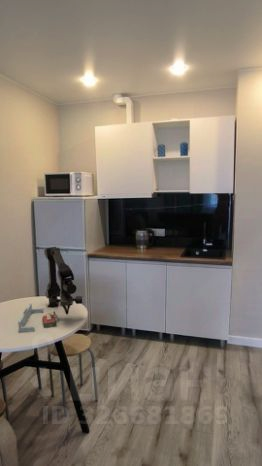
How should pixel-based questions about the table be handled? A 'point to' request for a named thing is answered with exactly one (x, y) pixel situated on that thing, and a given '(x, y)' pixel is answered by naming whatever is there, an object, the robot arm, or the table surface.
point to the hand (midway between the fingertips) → (67, 314)
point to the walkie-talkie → (50, 320)
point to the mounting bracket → (25, 318)
